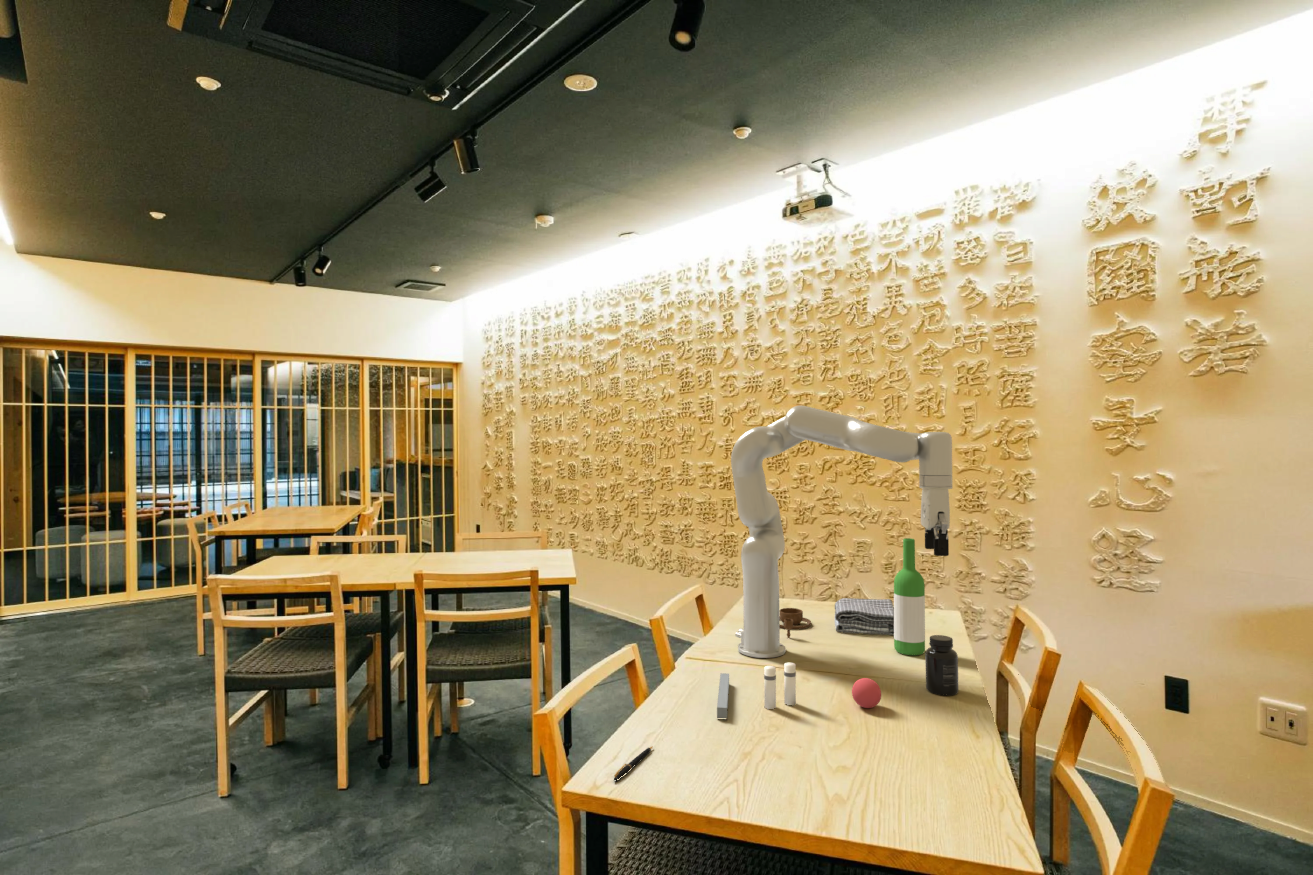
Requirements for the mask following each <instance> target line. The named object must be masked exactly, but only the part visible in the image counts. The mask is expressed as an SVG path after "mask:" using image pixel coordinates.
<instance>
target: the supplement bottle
mask: <svg viewBox="0 0 1313 875" xmlns="http://www.w3.org/2000/svg"><path fill="white" fill-rule="evenodd" d="M953 642H954V640H953V638H952V637H951V636H948V635H943V634H934V635H933V634H932V635H930V636H929V646H930V647H928V648H927V649H925V651H924V653H925V657H924V658H925V662H924V663H925V687H926V689H927V691H928V692H929V693H931V694H934V695H938V696H944V697H945V696H946V697H947V696H949V697H950V696H954V695H957V694H958V693H959V656H958V655H959V654H958V652H956V650H954V649H953V648H954V643H953Z"/></svg>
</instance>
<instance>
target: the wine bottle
mask: <svg viewBox="0 0 1313 875" xmlns="http://www.w3.org/2000/svg"><path fill="white" fill-rule="evenodd" d="M915 542H916V540H915V539H914V538H911V537H910V538H908V537H907V538H906V537H905V538H903V541H902V544H903V545H902V569H901V570H899V571H898V572H897V573H896V575H895V576H894V580H893V607H894V635H893V647H894V650H895V651H896V652H897V653H898V654H902V655H904V656H905V655H906V656H920V655H923V654H924V653H925V652H926V602H925V601H926V599H925V598H926V594H925V593H926V592H925V591H926V590H925V588H926V587H925V579H924V577H923V576H922V574H921V573H920V572H919V571H918V570H917V569H916V543H915Z"/></svg>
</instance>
